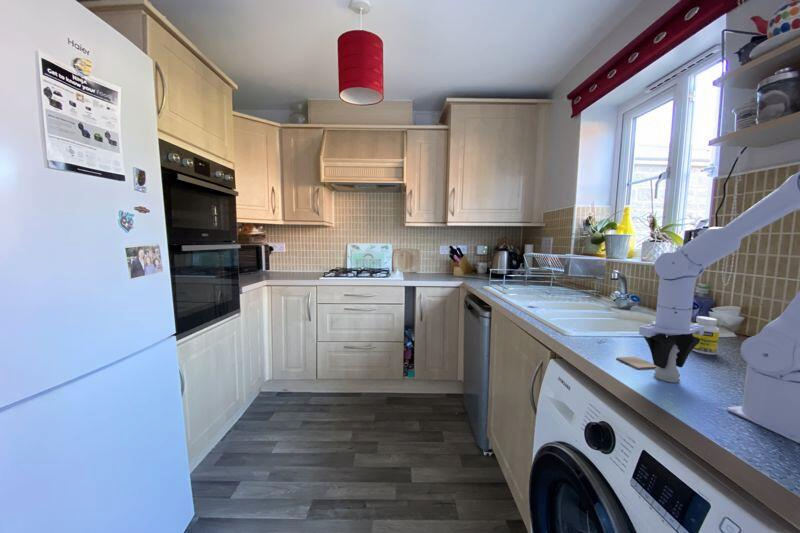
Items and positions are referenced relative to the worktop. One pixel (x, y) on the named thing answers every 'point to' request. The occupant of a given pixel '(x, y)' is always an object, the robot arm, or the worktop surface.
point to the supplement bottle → (707, 336)
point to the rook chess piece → (669, 368)
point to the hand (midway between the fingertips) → (667, 366)
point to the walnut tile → (637, 363)
